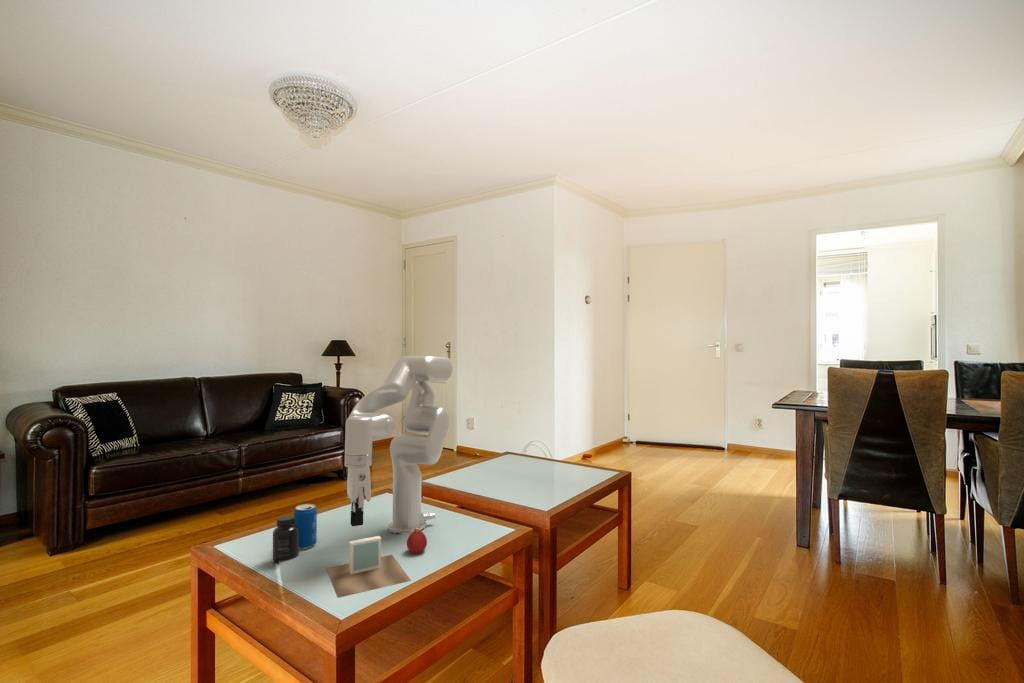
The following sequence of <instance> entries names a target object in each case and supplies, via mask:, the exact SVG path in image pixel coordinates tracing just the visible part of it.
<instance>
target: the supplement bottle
mask: <svg viewBox="0 0 1024 683" xmlns="http://www.w3.org/2000/svg"><path fill="white" fill-rule="evenodd" d="M294 524H295V516H294V515H282V516H280V517H277V519H276V527H275V528H274V529H273V531H272V562H273V563H274V564H276V565H280V562H283V561H285V562H286V561H290V560H293V559H295V558H297V557H299V555H300V552H299V551H300V549H299V528H298V527H297V526H296V525H294Z"/></svg>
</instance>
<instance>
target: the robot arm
mask: <svg viewBox="0 0 1024 683" xmlns="http://www.w3.org/2000/svg"><path fill="white" fill-rule="evenodd" d="M453 368H454V367H453V364H452V361H451V360H450V359H449V358H448V357H445V356H432V355H404V356H401V357H400V358H398V360H397V361H396V363H395V364H394V366H393V368H392V369H391V371H390V372H389V373H388V376H387V378H386V379H385V380H384V382H383V384H381V385H380V386H379V387H377V388H375V389H374V390H372V391H371V392H369V393H367V394H366V395H365V396H363V397H361V399H359V401H358V402H357V403H356V404H355V406H354V407H353V409H352V411H351V412H350V414H349V416H348V417H347V419H346V420H345V434H344V437H345V438H344V439H345V440H344V467H345V468H347V481H346V482H347V484H346V487H347V488H346V491H347V494H346V495H347V497H348V498H349V500H350V525H351V527H357V526H363V525H364V507H365V506H364V505H365V500H366V501H367V502H370V501H371V500H372V492H371V491H372V490H371V489H372V488H371V486H372V485H371V469H370V468H371V467H370V466H372V465H373V440H382V439H383V440H384V439H386V438H388V437H390V436H392V434H393V433H394V430H395V427H396V426H395V425H396V423H395V420H394V418H393V416H391V415H389V414H387V413H381V412H380V413H378V412H377V411H379V410H381V409H384V408H387V407H390V406H391V407H392V406H393V405H396V404H398V403H399V404H400V403H401V402H403V401H404V400H406V398H407V396H408V395H409V393H410V391H411V394H410V398H409V400H408V404H407V407H406V411H405V414H404V417H403V423H402V426H403V428H404V429H405V431H407V432H409V433H401V434H398V435H396V436H394V437H393V438H392V439H391V441H390V443H389V444H390V445H389V452H390V453H389V454H390V459H391V462H392V521H391V522H389V523H388V525H387V530H388V532H390V533H392V532H393V534H396V533H406V534H411V533H412V532H414V531H415V529H416V528H418V529H419V530H421V529H423V528H424V527H425V526H427V522H426V521H427V520H435V519H436V514H435V512H433V513H430V512H423V511H422V472H421V469H420V467H419V465H434V464H436V463H438V461H439V460H440V458H441V455H442V451H443V448H444V444H445V441H446V437H447V433H448V428H449V424H450V421H449V420H450V418H449V412H448V410H446V408H444V407H441V406H438V405H437V406H435V405H434V402H435V392H434V390H433V388H432V386H431V385H430V384H429V382H445V381H447V380H449V379H450V377H452V374H453ZM376 412H377V413H376ZM418 464H419V465H418ZM425 528H426V527H425ZM425 528H424V529H425ZM424 529H423V530H424ZM421 531H422V530H421Z"/></svg>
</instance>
